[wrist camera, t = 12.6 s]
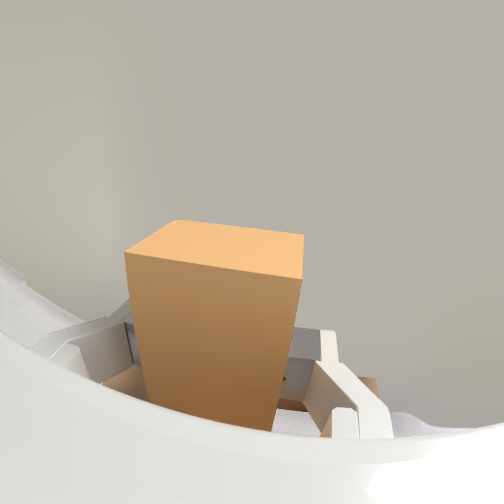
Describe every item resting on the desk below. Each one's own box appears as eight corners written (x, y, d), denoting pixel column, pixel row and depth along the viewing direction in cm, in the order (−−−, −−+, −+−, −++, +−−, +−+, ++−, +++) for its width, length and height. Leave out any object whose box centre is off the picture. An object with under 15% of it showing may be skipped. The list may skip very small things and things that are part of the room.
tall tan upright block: (175, 561, 10) (-29, 369, 2) (215, 451, 21) (216, 195, 13) (230, 574, 10) (277, 515, 2) (259, 460, 21) (304, 205, 13)
